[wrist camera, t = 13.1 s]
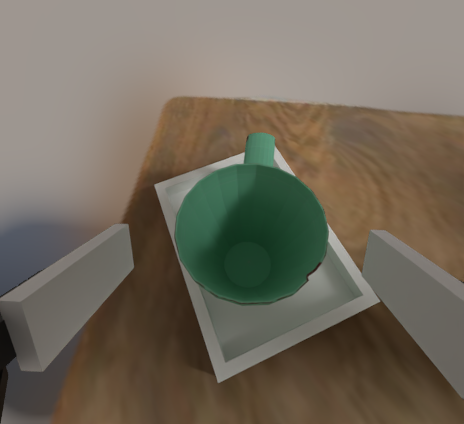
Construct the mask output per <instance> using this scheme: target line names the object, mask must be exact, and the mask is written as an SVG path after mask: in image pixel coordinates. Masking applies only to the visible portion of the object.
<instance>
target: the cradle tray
mask: <svg viewBox="0 0 464 424" xmlns="http://www.w3.org/2000/svg"><path fill="white" fill-rule="evenodd" d="M244 155H245V152H244V153H241V154H239V155H236V156H233V157H230V158H227V159H225V160H222V161H219V162H216V163H213V164H211V165H208V166H205V167H202V168H199V169H197V170H194V171H191V172H188V173H185V174H182V175H180V176H177V177H174V178H171V179H168V180H166V181H163V182H160V183H157V184H154V186H155V189H156V192H157V195H158V198H159V201H160V204H161V208H162V211H163V214H164V217H165V220H166V223H167V226H168V229H169V232H170V235H171V238H172V242H173V245H174V248H175V251H176V254H177V257H178V260H179V263H180V266H181V269H182V273H183V276H184V279H185V282H186V285H187V288H188V291H189V294H190V297H191V300H192V303H193V307H194V310H195V313H196V316H197V319H198V322H199V325H200V328H201V331H202V334H203V338H204V341H205V344H206V347H207V350H208V353H209V356H210V359H211V362H212V365H213V368H214V372H215V375H216V378H217V381H218V383H220V382H222V381H224V380H226V379H228V378H230V377H232V376H233V375H235V374H237V373H239V372H241V371H243V370H245V369H247V368H249V367H251V366H253V365H255V364H257V363H259V362H261V361H263V360H265V359H267V358H269V357H271V356H273V355H275V354H277V353H279V352H281V351H283V350H285V349H287V348H289V347H291V346H293V345H295V344H297V343H299V342H301V341H303V340H305V339H307V338H309V337H311V336H313V335H315V334H317V333H319V332H321V331H323V330H325V329H327V328H329V327H331V326H333V325H335V324H337V323H339V322H341V321H343V320H345V319H347V318H349V317H351V316H353V315H355V314H357V313H359V312H361V311H363V310H365V309H367V308H369V307H371V306H373V305H374V304H376V303H378V302H380V300H379V299H378V297H377V296H376V294H375V293H374V291H373V290H372V288H371V287H370V285H369V284H368V283H367V282H366V281H365V279H364V278H363V277H362V276H361V275H362V274H361V272H360V271H359V269H358V268H357V266H356V265H355V263H354V262H353V260H352V259H351V257H350V256H349V254H348V253H347V251H346V250H345V248H344V247H343V246H342V244H341V243H340V241H339V240H338V238H337V237H336V235H335V234H334V232H333V231H332V229H331V228H330V226H329V225H328V223H327V225H328V229H329V236H328V245H327V253H326V256H325V258H324V260H323V262H322V264H321V265H320V266H319V268H318V269H317V270H316V271H315V272H314V273H312V274H311V275H310V276H309V277H308V279H309V281H308V282H307V283H306V284H305V285H304V286H303V287H302V288H301V289H300V290H299V291H298V292H297V293H295V294H294V295H293V296H290V297H288V298H285V299H283V300H280V301H277V302H275V303H272V304H270V305H251V306H241V305H238V304H234V303H231V302H228V301H225V300H222V299H218V298H216V297H214V296H213V295H212V294H210V293H209V292H208V291H206V290H205V289H204V288H202V287H201V286H200V285H198V284H197V283H196V282H195V281H194V280H193V279H192V277H191V276H190V274H189V273H188V271H187V270H186V268H185V267H184V265H183V264H182V262H181V261H180V259H179V255H178V251H177V247H176V243H175V239H174V234H175V223H176V215H177V213H178V211H179V208H180V206H181V204H182V202H183V199H184V197H185V196H186V195H187V194H188V192H189V191H190V190H191V189H192V188H193V187H194V186H195V185H196V183H197V182H198V181H199V180H201V179H203V178H204V177H206V176H207V175H209V174H211V173H212V172H214V171H215V170H218V169H221V168H225V167H228V166H231V165H234V164H244ZM273 167H278V168H280V169H282V170H284V171H286V172H288V173H290V174H292V175H294V173H293V172H292V170H291V169H290V167H289V166H288V164H287V163H286V161H285V160H284V159H283V157H282V156H281V154H280V153H279V151H278V150H277V148H276V147H275V150H274V163H273ZM294 176H295V175H294Z"/></svg>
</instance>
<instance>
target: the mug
mask: <svg viewBox="0 0 464 424" xmlns="http://www.w3.org/2000/svg"><path fill="white" fill-rule="evenodd" d="M274 150H275V138H274V137H273V136H272V135H270V134H267V133H253V134H250V135H249V136H248V137H247V141H246V148H245V155H244V164H234V165H231V166H228V167H225V168H221V169H218V170H215V171H214V172H212V173H211V174H209V175H207V176H206V177H204V178H203V179H201V180H199V181H198V182H197V183H196V185H195V186H194V187H193V188H192V189H191V190H190V191H189V192H188V194H187V195H186V196H185V197H184V199H183V202H182V204H181V206H180V208H179V211H178V213H177V215H176V223H175V234H174V239H175V243H176V247H177V251H178V255H179V259H180V261H181V262H182V264H183V265H184V267H185V268H186V270H187V271H188V273H189V274H190V276H191V277H192V279H193V280H194V281H195V282H196V283H197V284H198V285H200V286H201V287H202V288H204V289H205V290H206V291H208V292H209V293H210V294H212V295H213V296H214V297H216V298H218V299H222V300H225V301H228V302H231V303H234V304H238V305H241V306H251V305H270V304H272V303H275V302H277V301H280V300H283V299H285V298H288V297H290V296H293V295H294V294H295V293H297V292H298V291H299V290H300V289H301V288H302V287H303V286H304V285H305V284H306V283H307V282H308V281H309V279H308V277H309V276H310V275H311V274H312V273H314V272H315V271H316V270H317V269H318V268H319V266H320V265H321V264H322V262H323V260H324V258H325V256H326V253H327V245H328V236H329V229H328V225H327V221H326V216H325V212H324V209H323V207H322V206H321V204H320V202H319V201H318V199H317V198H316V196H315V194H314V193H313V191H312V190H311V189H310V188H308V187H307V186H306V185H305V184H304V183H303V182H302V181H301V180H300V179H298V178H297V177H296V176H294V175H292V174H290V173H288V172H286V171H284V170H282V169H280V168H278V167H273V163H274Z"/></svg>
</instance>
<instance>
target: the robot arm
mask: <svg viewBox="0 0 464 424" xmlns="http://www.w3.org/2000/svg"><path fill="white" fill-rule="evenodd" d="M133 268H134V262H133V255H132V248H131V240H130V233H129V226H128V224H114V225H113V226H111V227H110V228H108V229H106V230H105V231H103V232H101V233H100V234H98V235H97V236H95V237H94V238H92V239H91V240H89V241H88V242H86V243H84V244H83V245H81V246H80V247H78V248H77V249H75V250H74V251H72V252H71V253H69V254H68V255H66V256H64V257H63V258H61V259H60V260H58V261H57V262H55V263H54V264H52V265H51V266H49V267H48V268H46V269H43V270H41V271H39V272H37V273H36V274H34V275H33V276H31V277H30V278H28V280H25V281H23V282H22V283H20V284H19V285H18V286H17V287H14V288H12V289H11V290H9V291H8V292H6V293H5V294H3V295H2V296H0V423H1V417H2V411H3V405H4V398H5V392H6V386H7V380H8V372H7V369H6V365H7V364H9V363H10V361H12V360H13V359H14V358H15V357H16V358H17V361H18V364H19V367H20V370H21V371H36V372H43V371H44V370H45V369H46V368H47V366H48V365H49V364H50V363H51V362H52V361H53V360H54V358H55V357H56V356H57V355H58V354H59V353H60V351H61V350H62V349H63V348H64V347H65V346H66V344H68V343H69V341H70V340H71V339H72V338H73V337H74V336H75V335H76V333H77V332H78V331H79V330H80V329H81V328H82V327H83V325H84V324H85V323H86V322H87V321H88V320H89V319H90V317H91V316H92V315H93V314H94V313H95V312H96V311H97V309H98V308H99V307H100V306H101V305H102V304H103V303H104V301H105V300H106V299H107V298H108V297H109V296H110V295H111V293H112V292H113V291H114V290H115V289H116V288H117V287H118V285H119V284H120V283H121V282H122V281H123V280H124V279H125V277H126V276H127V275H128V274H129V273H130V272H131V271H132V269H133ZM361 276H362V277H363V278H364V279H365V281H366V282H367V283H368V284H369V285H370V287H371V288H372V289H373V290H374V292H375V293H376V294H377V295H378V296H379V298H380V299H381V300H382V301H383V303H384V304H385V305H386V306H387V307H388V309H389V310H390V311H391V312H392V314H393V315H394V316H395V317H396V318H397V320H398V321H399V322H400V323H401V325H402V326H403V327H404V328H405V329H406V331H407V332H408V333H409V334H410V335H411V337H412V338H413V339H414V340H415V342H416V343H417V344H418V345H419V346H420V348H421V349H422V350H423V351H424V353H425V354H426V355H427V356H428V357H429V359H430V360H431V361H432V362H433V364H434V365H435V366H436V367H437V368H438V370H439V371H440V372H441V373H442V375H443V376H444V377H445V378H446V379H447V381H448V382H449V383H450V384H451V386H452V387H453V388H454V389H455V390H456V392H457V393H458V394H459V395H460V397H461V398H462V399H464V282H462V281H460V280H458V279H456V278H455V277H453V276H452V275H450V274H449V273H447V272H446V271H444V270H443V269H441V268H440V267H438V266H437V265H436V264H434V263H433V262H431V261H430V260H428V259H427V258H425V257H424V256H422V255H421V254H419V253H418V252H416V251H415V250H413V249H412V248H410V247H409V246H408V245H406V244H405V243H403V242H402V241H400V240H399V239H397V238H396V237H394V236H393V235H391V234H390V233H388V232H387V231H385V230H370V233H369V238H368V243H367V249H366V254H365V259H364V265H363V270H362V275H361Z"/></svg>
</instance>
